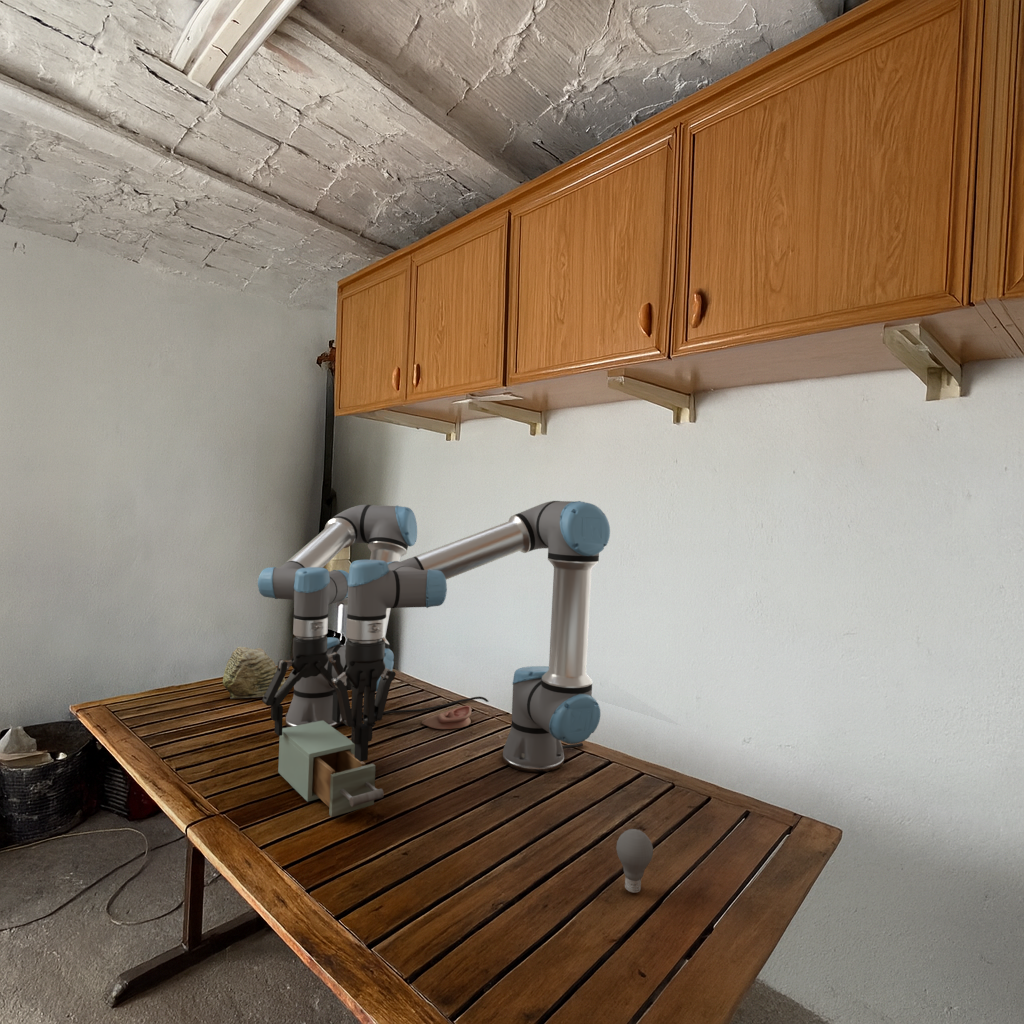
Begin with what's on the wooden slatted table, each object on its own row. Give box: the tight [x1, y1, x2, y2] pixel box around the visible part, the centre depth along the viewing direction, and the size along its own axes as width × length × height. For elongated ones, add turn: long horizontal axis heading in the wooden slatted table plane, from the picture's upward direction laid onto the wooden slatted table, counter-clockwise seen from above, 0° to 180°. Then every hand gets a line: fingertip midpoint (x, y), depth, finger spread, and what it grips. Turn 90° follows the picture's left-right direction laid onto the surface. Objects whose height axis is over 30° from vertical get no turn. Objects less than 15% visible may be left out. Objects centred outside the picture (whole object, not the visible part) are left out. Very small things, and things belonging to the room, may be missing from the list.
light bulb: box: [615, 828, 654, 894], centre depth 106 cm, size 6×6×10 cm
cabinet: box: [277, 720, 355, 803], centre depth 141 cm, size 17×10×10 cm, turn 40°
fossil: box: [222, 646, 287, 699], centre depth 198 cm, size 9×18×15 cm, turn 132°
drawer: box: [312, 750, 385, 818], centre depth 130 cm, size 22×9×8 cm, turn 40°
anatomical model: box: [421, 705, 472, 730], centre depth 181 cm, size 13×4×12 cm
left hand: (308, 727), depth 146 cm, fingers open, 13 cm apart
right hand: (360, 758), depth 124 cm, fingers closed
